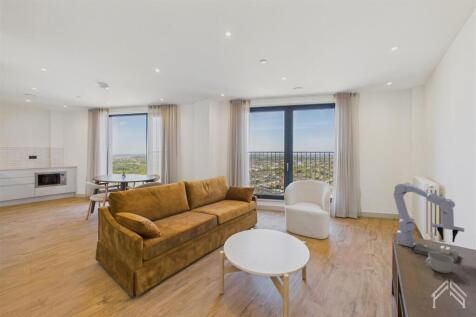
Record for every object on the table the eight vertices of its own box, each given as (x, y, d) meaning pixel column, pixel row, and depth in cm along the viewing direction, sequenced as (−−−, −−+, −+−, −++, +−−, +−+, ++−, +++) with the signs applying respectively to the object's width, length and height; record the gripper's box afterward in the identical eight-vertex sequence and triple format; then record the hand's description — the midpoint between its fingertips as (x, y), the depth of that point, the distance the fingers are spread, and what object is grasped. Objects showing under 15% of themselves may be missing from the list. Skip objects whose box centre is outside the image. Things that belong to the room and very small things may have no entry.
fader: (440, 252, 138) (440, 247, 138) (441, 250, 142) (441, 245, 141) (448, 254, 135) (448, 249, 135) (449, 252, 138) (449, 247, 138)
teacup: (443, 265, 128) (442, 252, 128) (460, 275, 117) (459, 261, 117) (417, 265, 129) (417, 252, 129) (432, 275, 118) (431, 261, 118)
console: (414, 252, 146) (413, 248, 145) (418, 246, 153) (417, 243, 153) (456, 262, 130) (456, 258, 130) (458, 255, 138) (458, 251, 138)
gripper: (430, 218, 140) (431, 239, 140) (463, 222, 129) (464, 245, 129) (432, 215, 144) (433, 236, 145) (464, 220, 133) (465, 242, 134)
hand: (447, 240), depth 137 cm, fingers open, 4 cm apart
